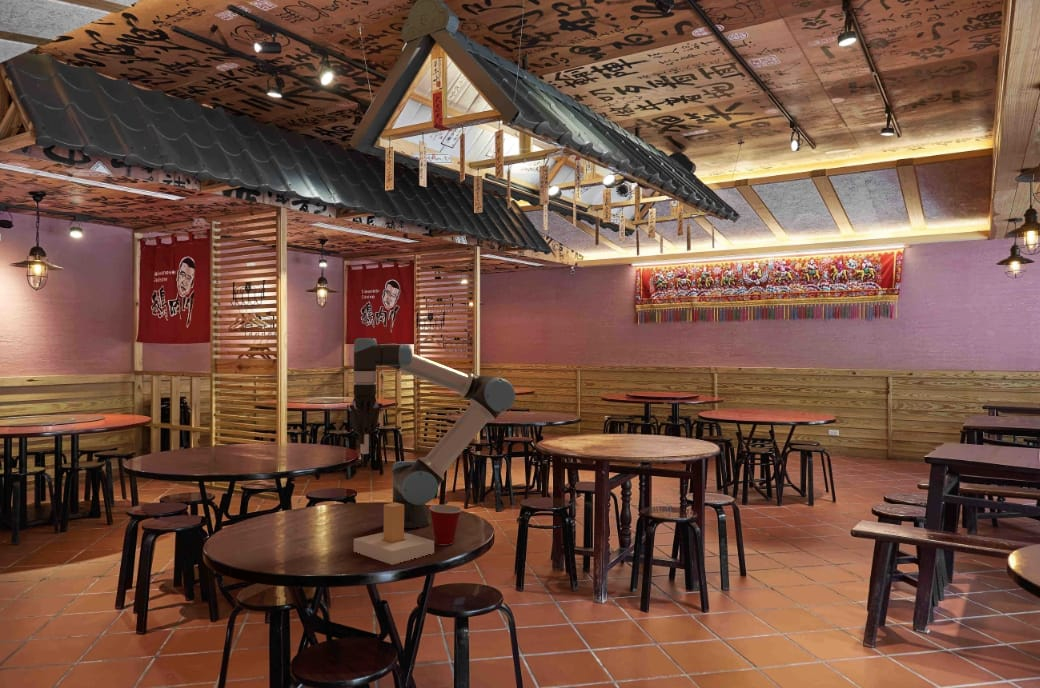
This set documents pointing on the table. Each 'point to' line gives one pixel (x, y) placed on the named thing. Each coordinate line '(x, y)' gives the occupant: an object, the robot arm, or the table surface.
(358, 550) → the socket plate
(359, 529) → the table surface
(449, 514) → the plastic cup
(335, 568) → the table surface
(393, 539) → the plug block
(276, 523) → the table surface
